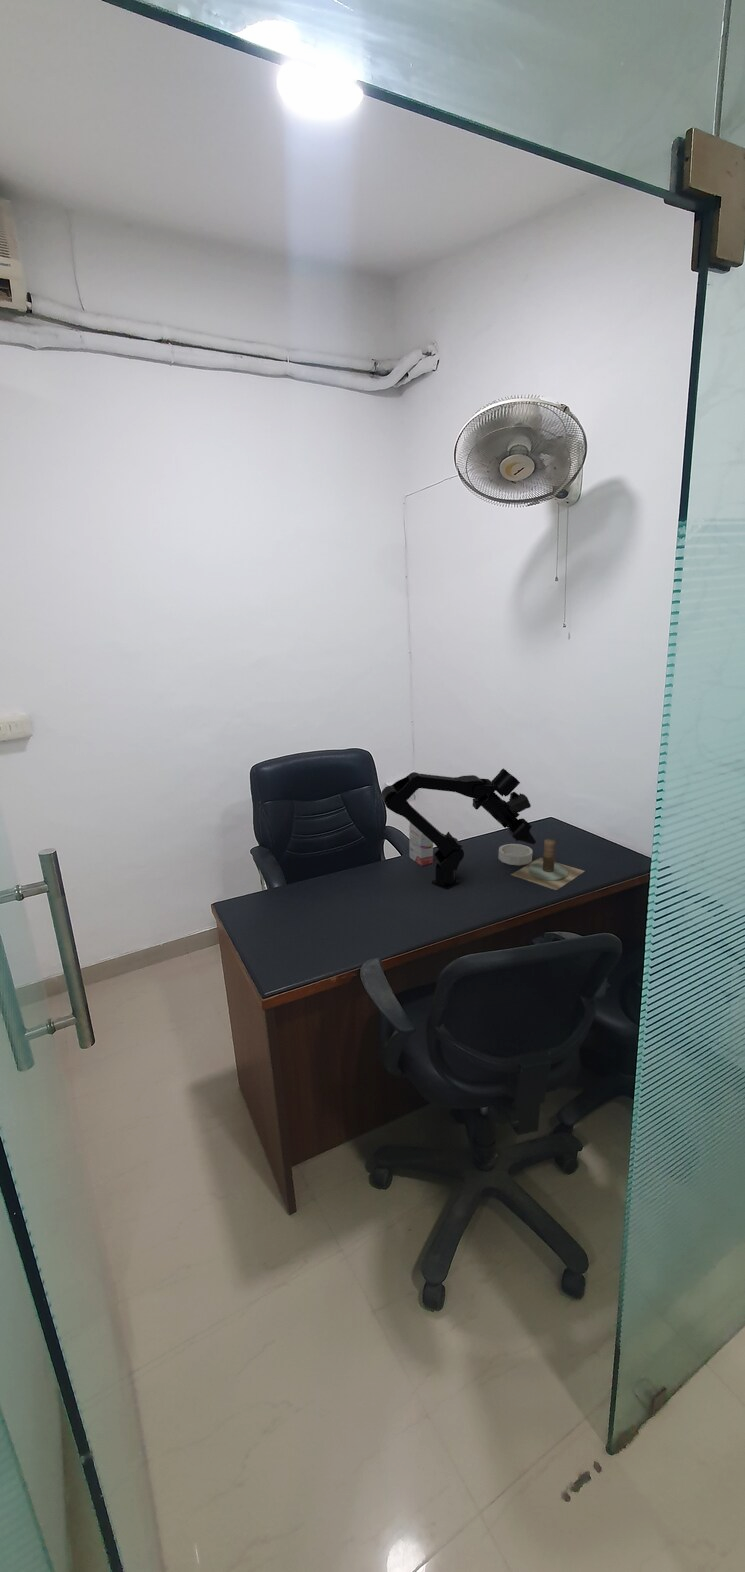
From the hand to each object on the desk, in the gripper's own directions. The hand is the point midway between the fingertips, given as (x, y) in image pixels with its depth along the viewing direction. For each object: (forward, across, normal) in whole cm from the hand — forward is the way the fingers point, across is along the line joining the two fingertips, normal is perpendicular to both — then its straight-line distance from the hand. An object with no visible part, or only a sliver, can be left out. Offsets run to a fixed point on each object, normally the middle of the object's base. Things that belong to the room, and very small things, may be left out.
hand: (529, 837), depth 189 cm
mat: (+14, 0, +4) cm, 15 cm away
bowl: (+10, +13, +9) cm, 18 cm away
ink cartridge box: (-12, +18, +31) cm, 38 cm away
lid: (+14, 0, +4) cm, 14 cm away
